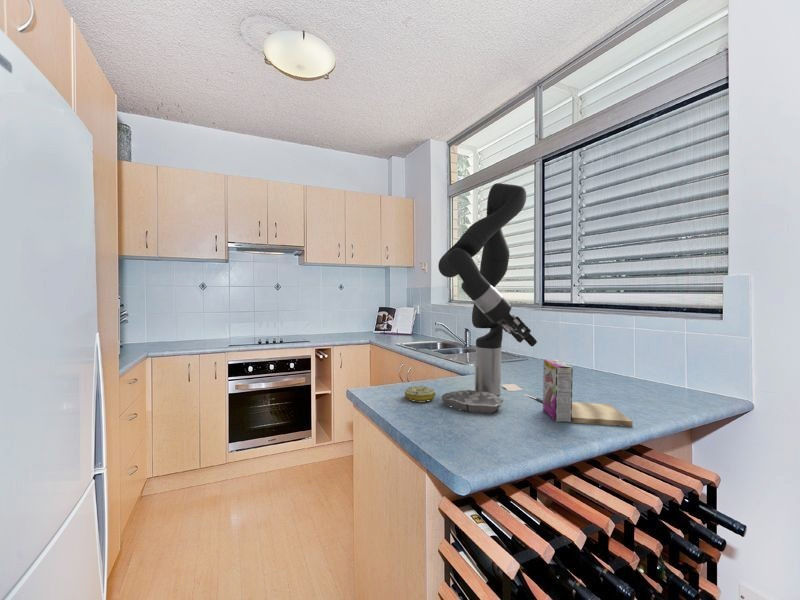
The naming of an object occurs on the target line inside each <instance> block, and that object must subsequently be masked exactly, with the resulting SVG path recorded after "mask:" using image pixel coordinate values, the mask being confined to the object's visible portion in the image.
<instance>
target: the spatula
mask: <svg viewBox="0 0 800 600" xmlns="http://www.w3.org/2000/svg"><path fill="white" fill-rule="evenodd" d="M501 386H502V388H504V389H506V390H507V391H508V392H514V391H515V392H516V391H523V389H522V388H521V387H519V386H518V385H517V384H514V383H508V384H506V383H504V384H501ZM523 395H524V396H526V397H529V398H532V399H535V400H536V401H538V402H540V403H542V404H543V399H541V398H538V397H535V396H533V395H532V396H531V395H528V394H526V393H525V394H523Z"/></svg>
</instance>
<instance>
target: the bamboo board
mask: <svg viewBox="0 0 800 600" xmlns="http://www.w3.org/2000/svg"><path fill="white" fill-rule="evenodd" d="M571 423H573V424H585V425H586V424H588V425H602V426H616V425H622V426H621V427H633V425H634V424H633V420H631V419H630V418H629V417H628V416H626V415H625V414H623V413H622V412H621V411H620V410H618V409H617V408H615V407H614V406H613V405H611V404H610V403H609V404H608V403H606V404H605V403H595V402H594V403H593V402H577V401H572V422H571Z"/></svg>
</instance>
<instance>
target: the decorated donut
mask: <svg viewBox="0 0 800 600" xmlns="http://www.w3.org/2000/svg"><path fill="white" fill-rule="evenodd" d="M404 395H405V398H406V397H407V398H408V399H411V400H415V401H427V400H431V401H433V400H434V398H435V397H436V391H435V389H433V388H431V387H428V386H421V385H420V386H417V385H416V386H415V385H414V386H409V387H408V388H406V389H405V390H404ZM407 398H406V399H407ZM408 399H407V400H408ZM432 399H433V400H432Z"/></svg>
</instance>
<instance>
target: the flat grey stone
mask: <svg viewBox="0 0 800 600" xmlns="http://www.w3.org/2000/svg"><path fill="white" fill-rule="evenodd" d="M441 400H442V402H443V403H444V404H445V405H446V406H447V405H448V406H452V407H455V408H458V409H457V410H459V409H461V410H460V411H462V410H466V411H465V412H469V413H473V412H480V413H479V414H493V413H494V412H497V410H498V409H500V407H501V405H502V404H503V403H504V399H501V398H500V397H499V396H498V395H497V396H496V395H493V394H491V393H488V392H477V391H475V390H472V389H471V390H470V389H469V390H468V389H466V390H463V389H462V390H461V389H460V390H457V391H450V392H445V393H444V394H442V396H441ZM448 406H447V407H448ZM455 408H454V409H455Z"/></svg>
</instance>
